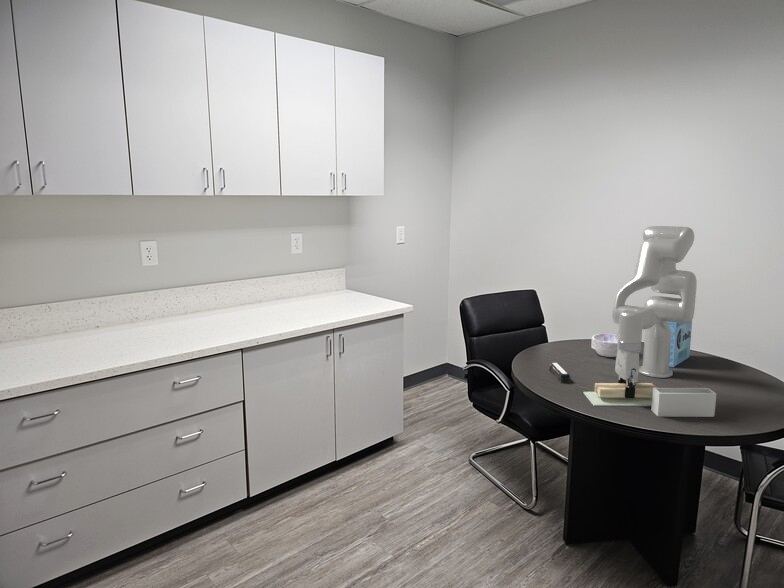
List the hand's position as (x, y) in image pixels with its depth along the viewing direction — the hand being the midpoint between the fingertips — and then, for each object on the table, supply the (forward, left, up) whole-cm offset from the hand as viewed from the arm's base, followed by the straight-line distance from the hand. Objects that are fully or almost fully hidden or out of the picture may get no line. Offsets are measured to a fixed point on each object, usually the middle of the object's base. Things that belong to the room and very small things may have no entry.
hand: (626, 393), depth 188 cm
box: (+12, +14, -2) cm, 19 cm away
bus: (-26, -17, -3) cm, 31 cm away
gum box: (-43, +37, -2) cm, 57 cm away
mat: (0, 0, -2) cm, 2 cm away
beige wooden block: (0, 0, 0) cm, 0 cm away
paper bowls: (-53, +12, -2) cm, 54 cm away
